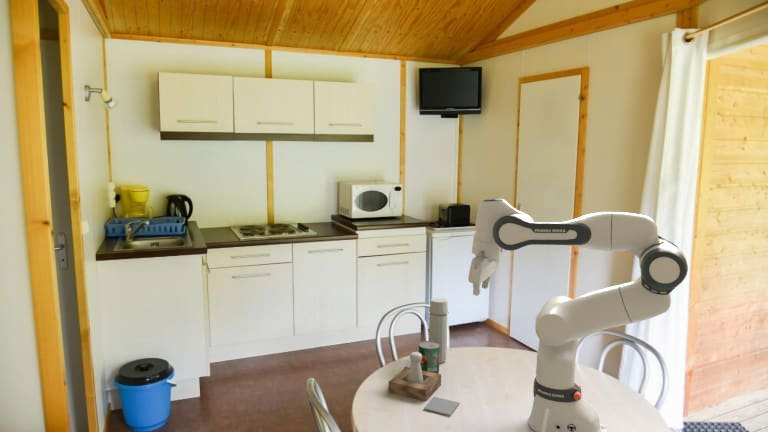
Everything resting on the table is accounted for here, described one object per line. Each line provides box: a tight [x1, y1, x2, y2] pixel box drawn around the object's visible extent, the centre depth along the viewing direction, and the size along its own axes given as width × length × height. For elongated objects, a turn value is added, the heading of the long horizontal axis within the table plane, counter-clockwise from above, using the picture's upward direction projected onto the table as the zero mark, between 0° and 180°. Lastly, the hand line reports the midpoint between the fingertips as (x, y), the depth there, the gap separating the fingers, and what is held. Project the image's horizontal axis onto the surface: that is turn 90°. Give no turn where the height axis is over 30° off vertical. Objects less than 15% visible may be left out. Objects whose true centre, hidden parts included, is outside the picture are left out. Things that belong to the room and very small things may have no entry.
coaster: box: [423, 396, 460, 417], centre depth 165 cm, size 9×9×1 cm
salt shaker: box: [407, 351, 424, 384], centre depth 177 cm, size 6×6×13 cm
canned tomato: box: [418, 340, 440, 374], centre depth 191 cm, size 8×8×11 cm
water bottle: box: [428, 297, 450, 364], centre depth 202 cm, size 9×8×25 cm
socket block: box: [388, 366, 442, 402], centre depth 177 cm, size 14×14×4 cm
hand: (480, 291), depth 160 cm, fingers open, 8 cm apart
